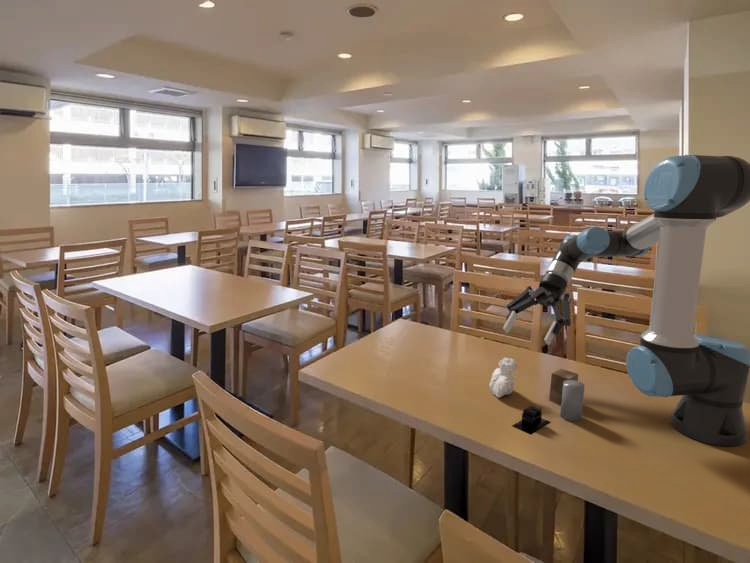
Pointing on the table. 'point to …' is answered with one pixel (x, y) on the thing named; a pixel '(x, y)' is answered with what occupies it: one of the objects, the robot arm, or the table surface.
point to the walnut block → (560, 384)
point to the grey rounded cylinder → (572, 400)
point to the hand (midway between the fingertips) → (525, 336)
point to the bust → (503, 378)
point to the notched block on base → (531, 420)
